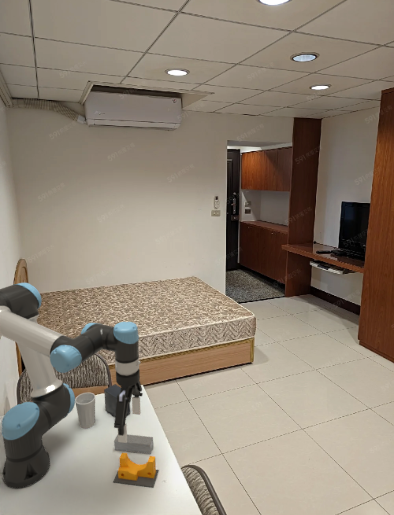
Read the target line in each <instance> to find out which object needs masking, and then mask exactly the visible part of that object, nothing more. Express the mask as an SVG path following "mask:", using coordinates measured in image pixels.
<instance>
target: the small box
mask: <svg viewBox="0 0 394 515" xmlns="http://www.w3.org/2000/svg"><path fill="white" fill-rule="evenodd" d="M120 390H121V386H120V385H118V384H117V383H116V384H113V385H111V386H108V387H107V388H105V389H103V392H104V406H105V409H104V410H105V412H107V414H109V415H111V416H112V417H114V418H115V414H116V406H117V394H121V393H120ZM126 400H128V399H127V398H126ZM130 404H131V402H130V403H129V405H128V411H127V416H129V415H130V414H131V405H130Z"/></svg>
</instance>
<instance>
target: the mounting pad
mask: <svg viewBox="0 0 394 515" xmlns="http://www.w3.org/2000/svg"><path fill="white" fill-rule="evenodd" d="M159 471H160V469H156V473H155V476H154V478H147V477H139V476H138V478H137V481H136V480H128V479H121V478H118V471H117V472H116V474H115V475H114V476H115V477H114V479H113V481H112V483H114V484H121V485H128V486H129V485H131V486H137V487H144V488H145V487H146V488H151V489H152V488H153V489H154V487H155V485H156V484H155V483H156V480H157V478H158V474H159Z"/></svg>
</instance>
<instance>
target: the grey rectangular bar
mask: <svg viewBox="0 0 394 515" xmlns="http://www.w3.org/2000/svg"><path fill="white" fill-rule="evenodd" d="M113 446H114V447H113V448H114V451H121V452H126V453H129V452H130V453H136V454H137V453H139V454H148V455H151V454H152V451H153V448H154V437H153V436H145V435H144V436H143V435H135V434H127V443H122V442H118V434H117V435H116V436H115V438H114V441H113Z"/></svg>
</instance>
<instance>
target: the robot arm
mask: <svg viewBox="0 0 394 515" xmlns="http://www.w3.org/2000/svg"><path fill="white" fill-rule="evenodd" d="M41 306H42V295H41V293H40V291H39V290H38V289H37V288H36V287H35V286H34V285H32V284H31V283H29V282H19V283H15V284H12V285H11V284H10V285H8V286H6V287H2V288H0V336H2V337H4V338H6V339H8V340H11V341H13V342H15V343H16V345H17V347H18V350H19V352H20V356H21V358H22V362H23V364H24V367H25V370H26V373H27V376H28V378H29V381H30V382H29V383H30V384H31V387H32V391H31V393H30V398H31V401H25V402H22V403H21V404H20V403H18V404H16V405H14V406H13V407H11V408H10V409H8V410H7V411H6V413H5V414H4V415H3V417H2V420H1V435H2V440H3V448H4V453H5V460H4V464H3V468H2V480H3V483H4V485H5V486H7V487H8V488H11V489H23V488H27V487H30V486H32V485H34V484H36V483H37V482H39V481H40V480H42V479H43V478H44V477H45V476H46V475H47V474H48V472H49V470H50V467H51V456H50V454H49V453H48V451H47V450H46V447H45V446H44V443H43V436H44V435H45V434H46V433H47V432H48V431H50V430H51V429H52V428H53V427H55V425H57V424H58V423H59V422H61V421H62V420H63V419H65V418H66V417H67V416H68V415H69V414H70V413H71V412H72V411H73V410H74V408H75V406H76V403H75V399H76V396H75V393H74V391H73V388H72V387H70V385H69V384H68V383H64V382H63V380H62V379H58V378H57V376H56V372H58V373H61V374H65V373H69V372H70V371H72V370H74V369H77V367H78V366H80V365H81V364H82V363H84V362H85V361H87V360H89V359H90V358H91V357H93V356H94V355H96V354H97V353H99V352H101V351H103V350H104V351H108V352H114V366H115V368H114V369H115V382H116V385H118V386H119V387H121V390H120V393H121V394H117V406H116V414H115V417H114V423H113V428H114V429H117V435H118V442H122V443H127V435H128V428H127V426H128V425H127V423H126V420H127V416H128V415H127V411H128V405H129V403H130V404H131V406H132V408H131V409H132V415H140V416H141V413H142V412H141V397H143V392H142V391H143V388H142V387H143V386H142V383H141V380H140V365H141V361H140V353H139V352H140V351H139V348H140V347H139V341H140V340H139V338H140V335H139V329H138V326H137V324H136V323H135V322H132V321H121V322H118V323H116V324H115V325H114V326H112V325H108V324H103V323H100V322H99V323H98V322H88V323H87V324H85V325H84V327H83V328H82V330H81V332H80V334H79V335H78V336H76V337H73V338H72V337H69V336H67V335H65V334H62V333H60V332H58V331H55V330H53V329H52V328H49V327H47V326H44V325H42V324H39V323H38V318H39V316H40V312H39V308H41ZM54 369H55V370H54ZM55 371H56V372H55ZM126 398H127V399H128V400H126Z"/></svg>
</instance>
